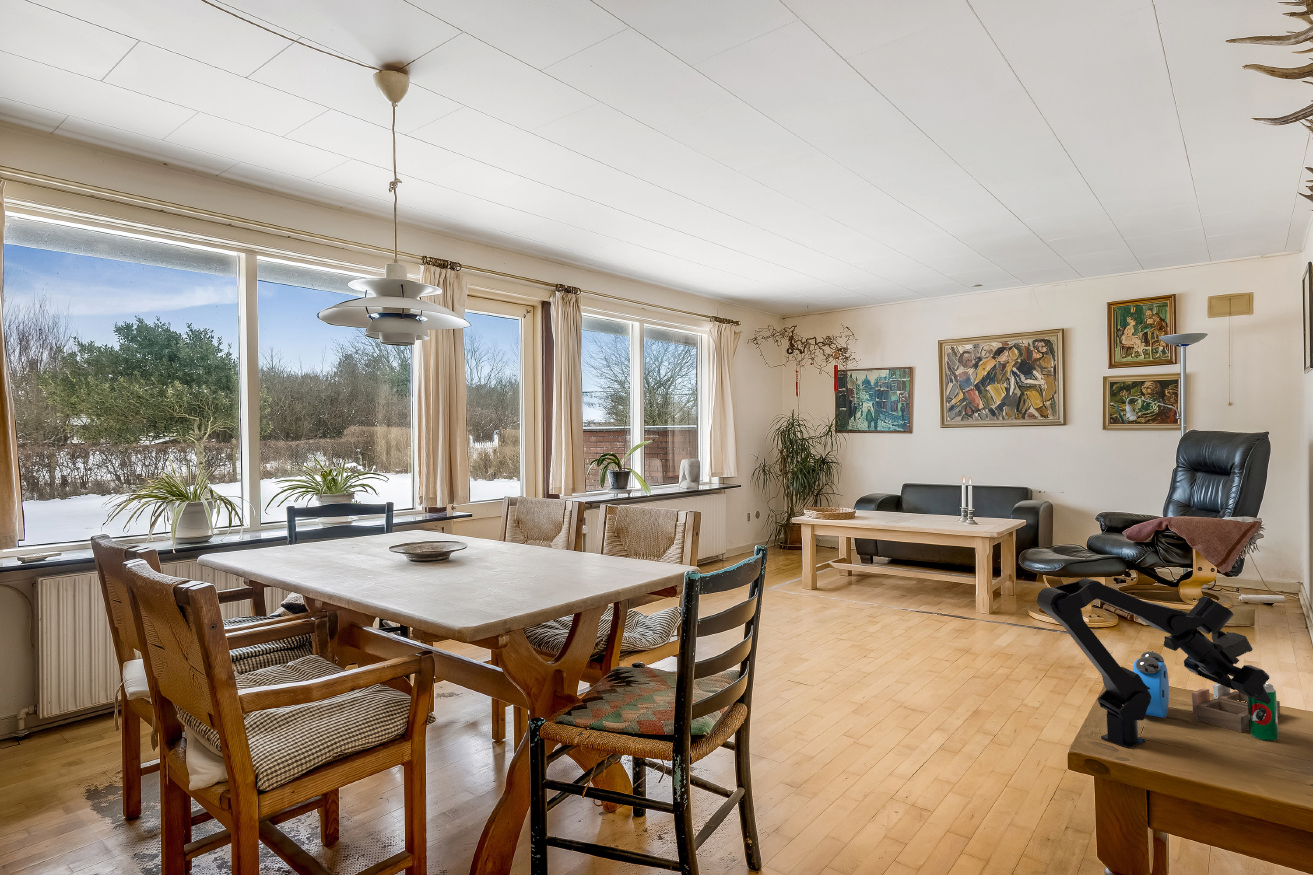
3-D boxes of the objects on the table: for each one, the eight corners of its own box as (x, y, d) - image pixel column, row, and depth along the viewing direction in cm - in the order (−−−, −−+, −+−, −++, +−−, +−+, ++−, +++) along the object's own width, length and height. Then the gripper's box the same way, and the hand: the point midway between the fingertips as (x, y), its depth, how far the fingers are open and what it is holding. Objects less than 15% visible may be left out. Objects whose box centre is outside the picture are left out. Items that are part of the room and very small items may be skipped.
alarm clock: (1142, 704, 181) (1139, 646, 181) (1171, 709, 176) (1168, 650, 177) (1132, 720, 171) (1129, 658, 171) (1163, 726, 167) (1160, 662, 167)
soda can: (1284, 742, 156) (1281, 688, 156) (1258, 741, 157) (1255, 687, 157) (1269, 733, 161) (1266, 680, 161) (1244, 732, 162) (1241, 680, 162)
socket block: (1241, 732, 162) (1240, 706, 162) (1189, 718, 171) (1188, 693, 171) (1280, 715, 170) (1279, 690, 170) (1229, 702, 180) (1228, 679, 180)
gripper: (1257, 632, 150) (1313, 682, 150) (1193, 613, 169) (1242, 657, 168) (1222, 671, 150) (1278, 720, 150) (1162, 647, 169) (1211, 691, 168)
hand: (1252, 695), depth 159 cm, fingers open, 9 cm apart
